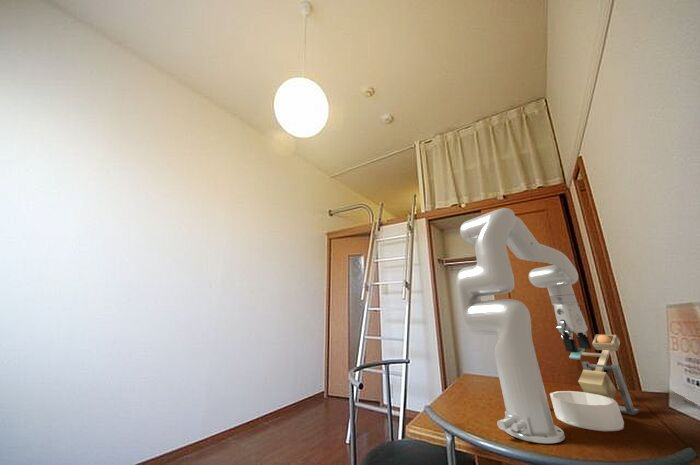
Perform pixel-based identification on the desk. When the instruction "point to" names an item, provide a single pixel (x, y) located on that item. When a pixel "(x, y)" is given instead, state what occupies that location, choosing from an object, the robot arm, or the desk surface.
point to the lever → (598, 368)
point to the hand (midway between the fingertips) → (579, 349)
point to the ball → (603, 339)
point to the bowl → (587, 410)
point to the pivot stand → (622, 387)
